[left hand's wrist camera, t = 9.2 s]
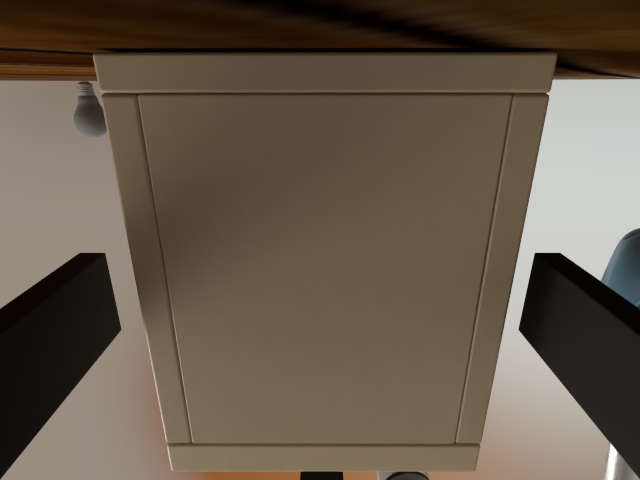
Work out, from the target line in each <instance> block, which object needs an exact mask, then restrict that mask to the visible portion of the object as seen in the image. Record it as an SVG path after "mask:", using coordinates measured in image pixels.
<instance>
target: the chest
mask: <svg viewBox="0 0 640 480" xmlns="http://www.w3.org/2000/svg"><path fill="white" fill-rule="evenodd" d="M93 59H94V64H95V70H96V75H97V80H98V85H99V90H100V92H102V93H104V94H103V95H102V96H101V101H102V106H103V112H104V117H105V122H106V127H107V132H108V138H109V143H110V148H111V154H112V159H113V164H114V169H115V175H116V180H117V185H118V190H119V196H120V201H121V206H122V212H123V217H124V222H125V227H126V232H127V238H128V243H129V248H130V254H131V259H132V264H133V269H134V275H135V280H136V285H137V290H138V296H139V301H140V306H141V311H142V317H143V322H144V327H145V333H146V338H147V343H148V348H149V353H150V359H151V364H152V369H153V375H154V380H155V385H156V390H157V396H158V401H159V406H160V411H161V417H162V422H163V427H164V433H165V438H166V441H167V442H168V443H189V442H191V441H192V442H193V443H432V444H453V443H455V442H456V443H480V442H481V440H482V435H483V429H484V424H485V419H486V414H487V409H488V404H489V399H490V394H491V389H492V384H493V379H494V374H495V369H496V364H497V359H498V354H499V348H500V343H501V338H502V333H503V328H504V323H505V318H506V313H507V308H508V303H509V298H510V293H511V288H512V283H513V278H514V273H515V268H516V263H517V257H518V252H519V247H520V242H521V237H522V232H523V227H524V222H525V217H526V212H527V207H528V202H529V197H530V192H531V187H532V181H533V177H534V172H535V167H536V162H537V157H538V152H539V146H540V141H541V136H542V131H543V126H544V121H545V116H546V111H547V106H548V101H549V95H548V94H545V93H548V92H549V91H550V89H551V85H552V80H553V75H554V70H555V65H556V60H557V53H555V52H96V53H94V54H93Z"/></svg>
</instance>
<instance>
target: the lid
mask: <svg viewBox="0 0 640 480" xmlns="http://www.w3.org/2000/svg"><path fill="white" fill-rule="evenodd" d="M167 448H168V454H169V459H170V464H171V469H172V471H416V472H428V471H429V472H430V471H431V472H439V471H440V472H473V471H475V469H476V465H477V459H478V454H479V449H480V444H479V443H456V442H455V443H453V444H432V443H193V442H192V441H191V442H189V443H168V444H167Z"/></svg>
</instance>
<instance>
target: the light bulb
mask: <svg viewBox="0 0 640 480" xmlns="http://www.w3.org/2000/svg"><path fill="white" fill-rule="evenodd" d="M77 85H78V88H79V89H78V90H79V92H78V93H79V97H78V106H77V109H76V111H75V114H74V124H75V126H76V127H77V129H78V130H79V131H80V132H81V133H83V134H84V135H86V136H89V137H100V136H102V135H104V134H105V133H106V132H107V127H106V122H105V117H104V112H103V108H102V107H101V105H100V104H99V102H98V99H97V97H96V96H95V93H94V92H93V88H92V85H93V84H91V83H89V82H80V83H78V84H77Z"/></svg>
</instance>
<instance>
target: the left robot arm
mask: <svg viewBox="0 0 640 480" xmlns="http://www.w3.org/2000/svg"><path fill="white" fill-rule="evenodd" d="M120 331H121V326H120V321H119V316H118V311H117V307H116V302H115V297H114V293H113V288H112V283H111V279H110V274H109V269H108V265H107V260H106V255H105V253H79V254H78V255H76V256H75V257H74V258H72V259H71V260H69V261H68V262H66V263H65V264H64V265H62V266H61V267H59V268H58V269H56V270H55V271H54V272H52V273H51V274H49V275H48V276H46V277H45V278H44V279H42V280H41V281H39V282H38V283H37V284H35V285H34V286H32V287H31V288H29V289H28V290H26V291H25V292H24V293H22V294H21V295H19V296H18V297H17V298H15V299H14V300H12V301H11V302H9V303H8V304H7V305H5V306H4V307H2V308H1V309H0V479H1V478H2V476H3V475H4V474H5V473H6V472H7V470H8V469H9V468H10V467H11V465H12V464H13V463H14V462H15V460H16V459H17V458H18V457H19V456H20V454H21V453H22V452H23V451H24V449H25V448H26V447H27V446H28V444H29V443H30V442H31V441H32V439H33V438H34V437H35V436H36V435H37V433H38V432H39V431H40V430H41V428H42V427H43V426H44V425H45V423H46V422H47V421H48V420H49V418H50V417H51V416H52V415H53V413H54V412H55V411H56V410H57V409H58V407H59V406H60V405H61V404H62V402H63V401H64V400H65V399H66V397H67V396H68V395H69V394H70V393H71V391H72V390H73V389H74V388H75V386H76V385H77V384H78V383H79V381H80V380H81V379H82V378H83V376H84V375H85V374H86V373H87V371H88V370H89V369H90V368H91V367H92V365H93V364H94V363H95V362H96V360H97V359H98V358H99V357H100V355H101V354H102V353H103V352H104V351H105V349H106V348H107V347H108V346H109V344H110V343H111V342H112V341H113V339H114V338H115V337H116V336H117V334H118V333H119V332H120ZM519 331H520V332H521V333H522V334H523V336H524V337H525V338H526V339H527V341H528V342H529V343H530V344H531V346H532V347H533V348H534V349H535V350H536V352H537V353H538V354H539V356H540V357H541V358H542V359H543V360H544V362H545V363H546V364H547V365H548V367H549V368H550V369H551V370H552V372H553V373H554V374H555V375H556V376H557V378H558V379H559V380H560V381H561V383H562V384H563V385H564V386H565V388H566V389H567V390H568V391H569V393H570V394H571V395H572V396H573V397H574V399H575V400H576V401H577V402H578V404H579V405H580V406H581V407H582V408H583V410H584V411H585V412H586V413H587V415H588V416H589V417H590V418H591V420H592V421H593V422H594V423H595V425H596V426H597V427H598V428H599V430H600V431H601V432H602V433H603V435H604V436H605V437H606V438H607V439H608V441H609V445H608V451H607V457H606V463H605V469H604V475H603V480H640V228H639V229H636V230H633V231H631V232H629V233H628V234H626V235H625V236H624V237H623V238H622V239H621V240H620V242H619V244H618V245H617V247H616V249H615V251H614V253H613V255H612V257H611V259H610V261H609V263H608V266H607V268H606V270H605V272H604V275H603V277H602V279H601V281H599V280H598V279H596V278H595V277H594V276H592V275H591V274H589V273H588V272H586V271H585V270H584V269H582V268H581V267H579V266H578V265H576V264H575V263H574V262H572V261H571V260H569V259H568V258H566V257H565V256H564V255H562V254H561V253H535V255H534V260H533V265H532V269H531V274H530V279H529V283H528V288H527V293H526V297H525V302H524V307H523V311H522V316H521V321H520V325H519Z"/></svg>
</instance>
